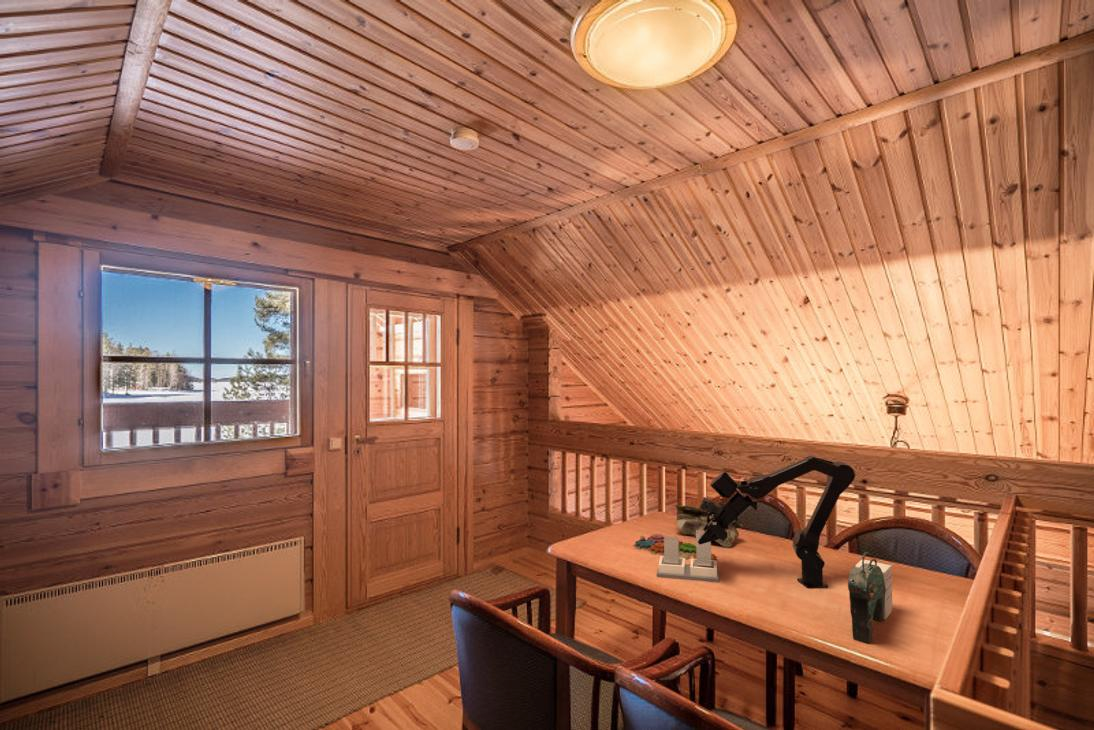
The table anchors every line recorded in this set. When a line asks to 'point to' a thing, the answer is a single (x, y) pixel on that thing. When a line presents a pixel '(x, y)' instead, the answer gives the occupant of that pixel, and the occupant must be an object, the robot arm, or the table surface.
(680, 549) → the gear puzzle
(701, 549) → the block
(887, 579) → the supplement box
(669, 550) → the billet
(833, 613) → the table surface
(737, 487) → the robot arm
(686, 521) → the hollow geode rock
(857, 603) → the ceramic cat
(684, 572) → the double socket tray
